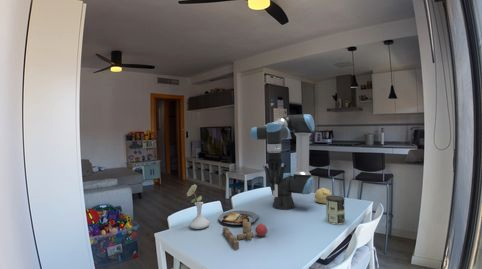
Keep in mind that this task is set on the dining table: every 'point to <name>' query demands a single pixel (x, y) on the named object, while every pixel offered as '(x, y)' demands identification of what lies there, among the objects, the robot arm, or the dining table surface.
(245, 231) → the pin
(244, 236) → the front pin
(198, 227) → the flower in vase
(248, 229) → the pin
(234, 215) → the food plate
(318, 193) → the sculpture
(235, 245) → the back wall
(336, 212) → the coffee can
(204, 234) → the dining table surface
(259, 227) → the ball
